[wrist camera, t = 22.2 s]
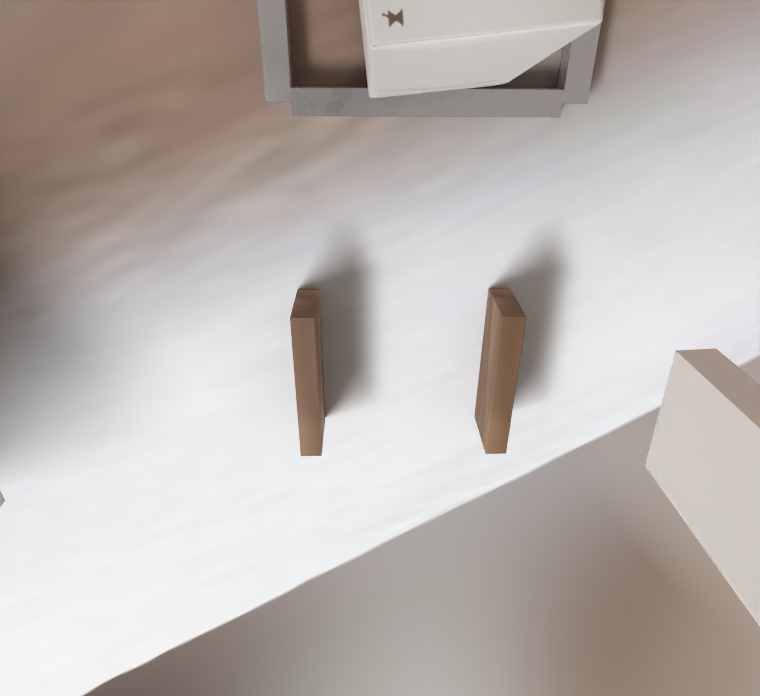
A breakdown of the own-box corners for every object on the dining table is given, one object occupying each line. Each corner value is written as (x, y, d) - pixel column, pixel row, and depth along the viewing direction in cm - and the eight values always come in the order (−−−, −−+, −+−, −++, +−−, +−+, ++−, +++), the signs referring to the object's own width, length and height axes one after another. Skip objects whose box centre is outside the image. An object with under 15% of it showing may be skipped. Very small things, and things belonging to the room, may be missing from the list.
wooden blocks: (306, 418, 48) (300, 455, 44) (297, 289, 42) (290, 318, 38) (492, 416, 48) (505, 453, 44) (509, 288, 43) (526, 316, 38)
